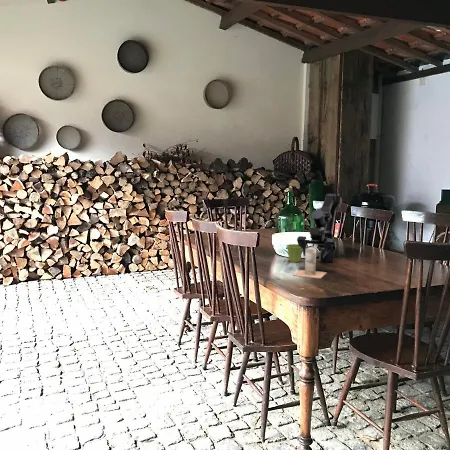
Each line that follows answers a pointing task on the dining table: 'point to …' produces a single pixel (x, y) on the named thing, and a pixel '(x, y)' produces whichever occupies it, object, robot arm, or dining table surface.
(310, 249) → the white cylinder
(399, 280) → the dining table surface
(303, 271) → the placemat
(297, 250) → the plant pot
